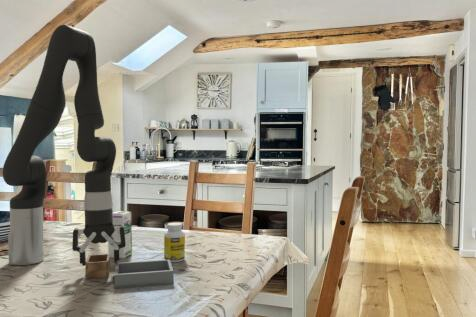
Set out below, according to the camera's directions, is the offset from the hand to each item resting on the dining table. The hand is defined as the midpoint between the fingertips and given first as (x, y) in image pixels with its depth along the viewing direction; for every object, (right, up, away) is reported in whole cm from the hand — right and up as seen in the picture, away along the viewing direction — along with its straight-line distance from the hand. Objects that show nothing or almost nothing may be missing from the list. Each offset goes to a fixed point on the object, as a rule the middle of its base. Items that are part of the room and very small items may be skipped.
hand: (100, 263), depth 118 cm
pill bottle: (+19, -3, +14) cm, 24 cm away
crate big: (+14, -3, -4) cm, 15 cm away
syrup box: (0, -2, +19) cm, 19 cm away
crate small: (-1, -3, 0) cm, 3 cm away
